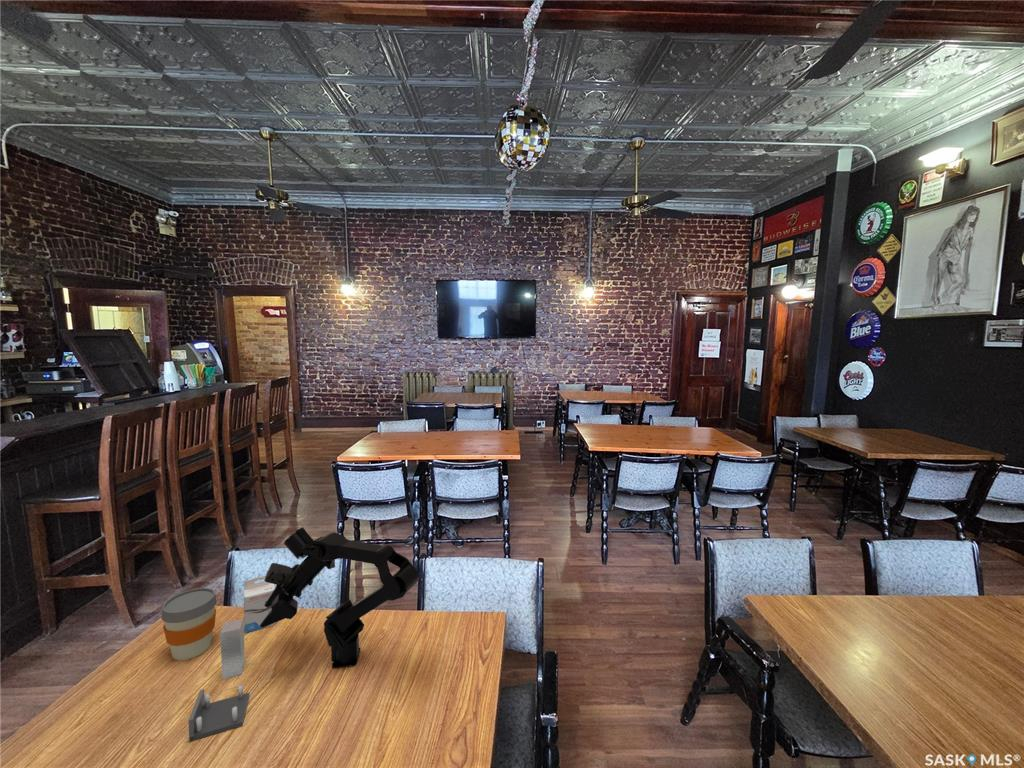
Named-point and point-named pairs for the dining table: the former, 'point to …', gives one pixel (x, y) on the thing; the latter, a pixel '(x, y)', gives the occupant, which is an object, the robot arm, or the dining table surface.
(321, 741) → the dining table surface
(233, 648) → the silver tall square block
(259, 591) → the ink box
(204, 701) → the drive dock
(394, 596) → the robot arm
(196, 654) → the reusable coffee cup
